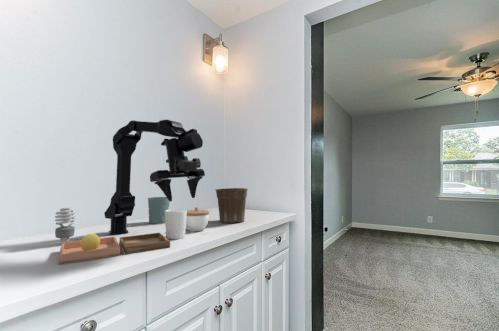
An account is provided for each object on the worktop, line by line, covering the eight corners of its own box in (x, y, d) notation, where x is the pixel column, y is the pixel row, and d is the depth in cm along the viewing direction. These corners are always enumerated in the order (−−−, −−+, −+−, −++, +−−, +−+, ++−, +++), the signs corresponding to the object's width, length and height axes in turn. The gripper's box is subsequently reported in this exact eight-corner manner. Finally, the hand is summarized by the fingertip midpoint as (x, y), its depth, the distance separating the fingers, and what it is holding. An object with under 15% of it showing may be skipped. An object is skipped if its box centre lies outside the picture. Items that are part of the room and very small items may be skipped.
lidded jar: (181, 228, 109) (181, 206, 110) (205, 226, 114) (205, 205, 114) (185, 233, 100) (185, 209, 100) (212, 231, 104) (212, 208, 104)
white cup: (180, 240, 89) (181, 212, 90) (160, 239, 91) (160, 211, 91) (190, 235, 97) (190, 209, 97) (171, 234, 99) (171, 208, 99)
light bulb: (78, 242, 87) (79, 207, 88) (62, 246, 82) (63, 209, 82) (67, 240, 89) (68, 206, 90) (50, 244, 84) (51, 208, 84)
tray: (119, 243, 86) (119, 237, 86) (159, 238, 93) (159, 232, 93) (125, 254, 74) (125, 247, 74) (170, 247, 81) (170, 240, 81)
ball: (80, 250, 76) (80, 233, 76) (99, 247, 79) (99, 231, 79) (79, 254, 72) (80, 236, 72) (100, 251, 74) (100, 234, 75)
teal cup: (143, 223, 122) (143, 197, 122) (160, 219, 131) (160, 196, 131) (157, 225, 117) (157, 199, 117) (174, 221, 125) (174, 197, 126)
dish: (62, 250, 77) (62, 242, 77) (114, 243, 85) (114, 236, 85) (58, 264, 65) (58, 255, 65) (119, 255, 73) (119, 246, 73)
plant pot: (210, 223, 120) (210, 189, 121) (221, 218, 136) (221, 187, 136) (243, 225, 117) (243, 190, 117) (251, 219, 132) (250, 188, 133)
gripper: (164, 148, 77) (171, 199, 75) (211, 150, 91) (218, 193, 89) (146, 157, 84) (152, 204, 82) (192, 157, 98) (198, 197, 96)
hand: (182, 199), depth 87 cm, fingers open, 9 cm apart
